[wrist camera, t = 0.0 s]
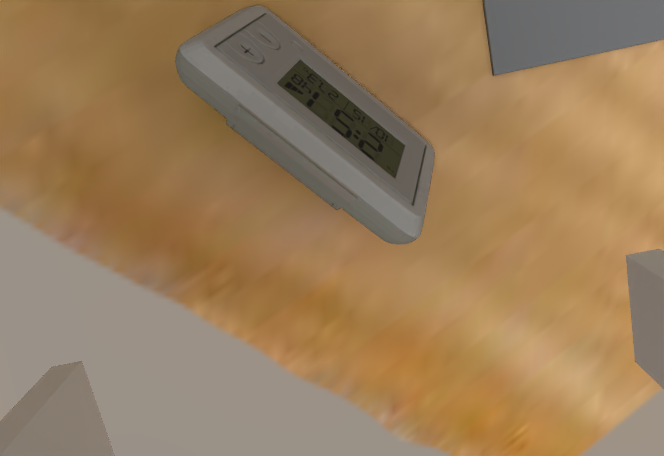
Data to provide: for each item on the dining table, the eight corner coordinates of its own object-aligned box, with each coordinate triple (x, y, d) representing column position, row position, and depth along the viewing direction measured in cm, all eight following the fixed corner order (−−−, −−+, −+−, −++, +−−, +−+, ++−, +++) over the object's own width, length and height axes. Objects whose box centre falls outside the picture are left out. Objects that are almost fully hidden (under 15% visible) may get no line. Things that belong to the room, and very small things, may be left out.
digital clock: (444, 163, 41) (481, 194, 31) (343, 243, 43) (347, 298, 32) (290, -31, 38) (275, -68, 28) (187, 63, 40) (137, 61, 29)
